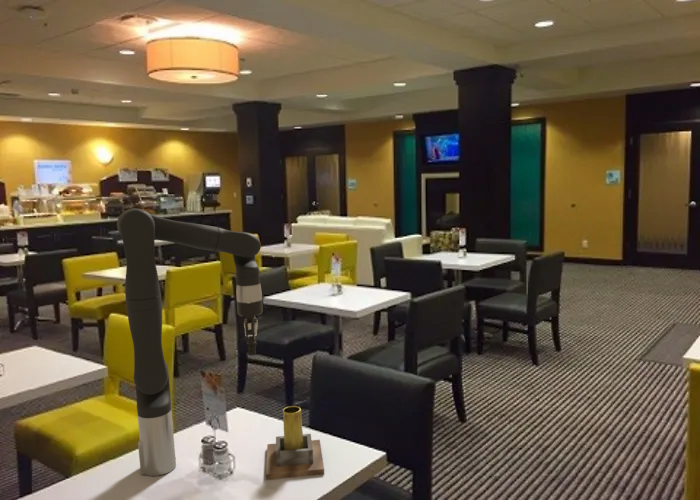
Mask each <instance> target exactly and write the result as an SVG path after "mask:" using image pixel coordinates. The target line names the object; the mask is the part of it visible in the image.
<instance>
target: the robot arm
mask: <svg viewBox="0 0 700 500" xmlns="http://www.w3.org/2000/svg"><path fill="white" fill-rule="evenodd" d="M116 227H117V232H118V233H119V235H120V236H121V239H122V244H123V247H124V248H123V249H124V254H125V259H126V269H125V282H124V292H125V293H124V296H125V307H126V313H127V319H128V325H129V326H128V327H129V331H130V335H131V340H132V345H133V359H134V361H133V362H134V364H133V365H134V366H133V369H134V371H133V383H134V385H135V394H136V413H137V423H138V424H137V425H138V432H139V433H138V434H139V440H138V443H137V447H138V457H139V467H140V475H145V476H146V475H147V476H151V477H157V476H163V475H166V474H169V473H170V472H172V471H173V470H174V469H175V468H176V466H177V461H176V460H177V458H176V450H175V449H176V448H175V439H174V438H175V437H174V425H173V424H174V423H173V413H172V399H171V389H170V388H171V387H170V376H169V365H168V363H167V362H166V360H165V357H164V352H163V351H164V350H163V344H162V343H163V340H162V337H163V336H162V334H163V332H162V331H163V304H162V293H161V286H160V280H159V274H158V270H157V265H156V256H155V254H156V253H155V241H163V242H167V243H174V244H177V245H182V246H187V247H191V248H195V249H197V250H198V249H199V250H206V251H209V252H216V253H217V252H218V253H225V254H231V255H232V257H233V262H234V265H235V277H236V280H235V281H236V292H235V293H236V308H237V309H236V310H237V315H238V316H240V317H245V319H244V321H243V327H244V334H245V335H244V336H245V342H246V343H245V344H247V355H248V356H249V357H250V356H255V355H256V353H257V352H256V347H257V346H258V343H257V335H258V334H257V333H258V325H259V322H258V321H259V320H258V318H257V317H256V316H260V315H262V314H263V312H264V311H263V309H264V308H263V294H262V286H261V274H260V273H261V272H260V267H259V265H258V264H257V262H256V260H257V259H256V255H258V254H259V252H260V251H261V247H262V243H261V241H260V239H259V237H257V236H256V235H255V234H253V233H251V232H246V231H241V232H240V231H233V230H229V229H225V228H222V227H219V226H218V227H217V226H212V225H207V224H199V223H194V222H193V223H191V222H185V221H178V220H172V219H167V218H164V217H161V216H157V215H154V214H151V213H149V212H148V211H145V210H143V209H141V208H129V209H126V210H124V211H123V212H122V213H120V215H119V216H118V217H117V221H116Z"/></svg>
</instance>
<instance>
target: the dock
mask: <svg viewBox="0 0 700 500" xmlns="http://www.w3.org/2000/svg"><path fill="white" fill-rule="evenodd" d="M303 444H304V449H296V450H285V451H284V435H279V436H275V443H268V444H267V446H266V447H267V449H266V450H267V451H266V466H265V467H266V468H265V470H266V471H265V472H266V473H265V475H266V476H265V477H266V480H267V481H268V480H277V479H285V478H287V479H288V478H297V477H308V476H317V475H319V476H320V475H325V466H324V458H323V453H322V452H323V451H322V447H321V446H322V445H321V440H320V439H312V435H311V433H305V434H304V433H303Z"/></svg>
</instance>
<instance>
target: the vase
mask: <svg viewBox="0 0 700 500" xmlns="http://www.w3.org/2000/svg"><path fill="white" fill-rule="evenodd" d="M282 416H283V417H282V420H283V436H284V451H285V450H296V449H304V444H303V434H304V433H303V420H302V409H301V407H300V406H296V405H291V406H286V407H284V408H283V409H282Z"/></svg>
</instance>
